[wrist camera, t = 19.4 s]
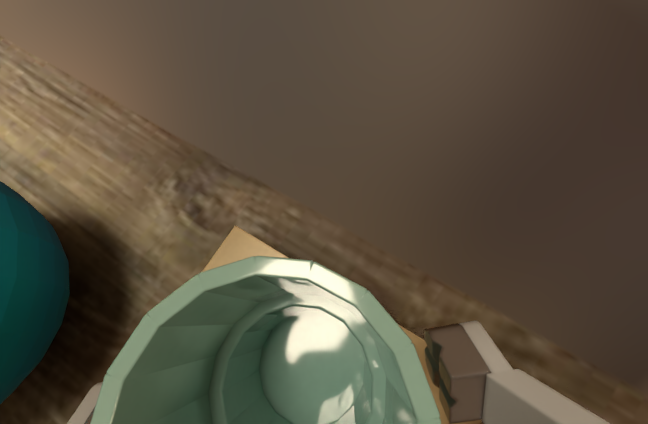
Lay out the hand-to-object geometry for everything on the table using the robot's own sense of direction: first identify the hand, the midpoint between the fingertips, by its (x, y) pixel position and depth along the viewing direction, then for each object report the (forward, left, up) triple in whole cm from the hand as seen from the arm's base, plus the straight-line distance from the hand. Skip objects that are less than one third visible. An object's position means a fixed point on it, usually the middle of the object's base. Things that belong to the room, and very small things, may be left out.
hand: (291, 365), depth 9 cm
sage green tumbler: (-1, 0, -5) cm, 5 cm away
